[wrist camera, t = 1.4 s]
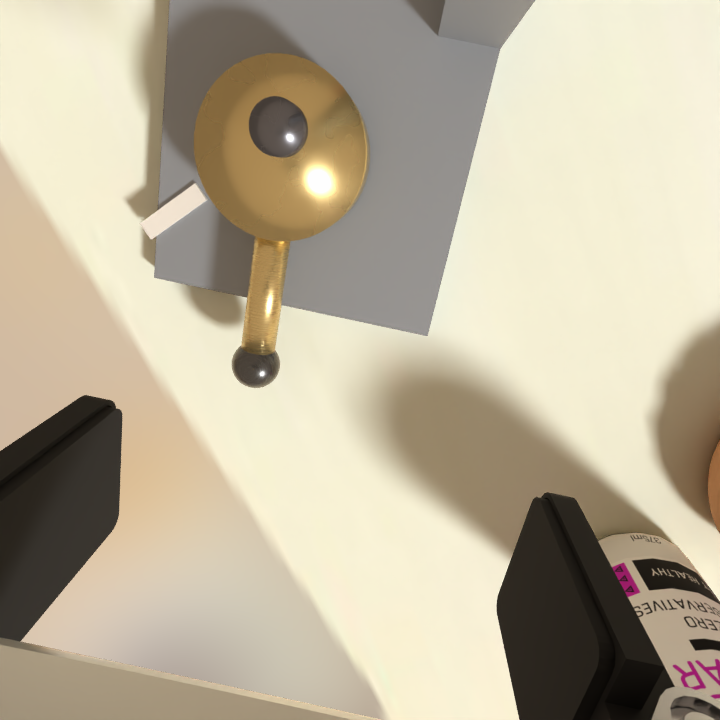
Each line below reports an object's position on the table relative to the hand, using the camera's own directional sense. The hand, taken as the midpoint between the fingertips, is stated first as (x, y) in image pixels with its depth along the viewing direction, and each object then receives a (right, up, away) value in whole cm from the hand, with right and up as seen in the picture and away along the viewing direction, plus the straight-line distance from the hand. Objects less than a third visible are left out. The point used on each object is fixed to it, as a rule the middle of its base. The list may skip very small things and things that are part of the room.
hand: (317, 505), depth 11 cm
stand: (-1, +16, +16) cm, 23 cm away
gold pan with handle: (-3, +10, +17) cm, 20 cm away
